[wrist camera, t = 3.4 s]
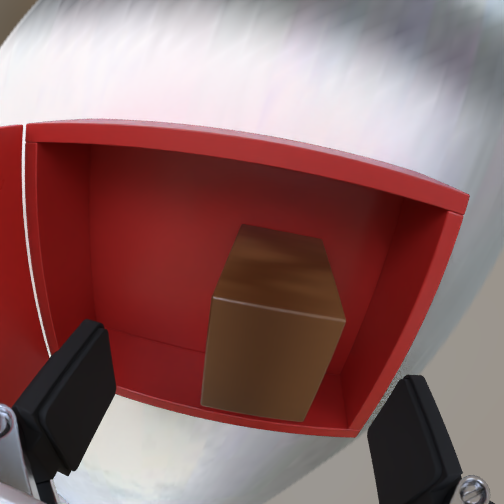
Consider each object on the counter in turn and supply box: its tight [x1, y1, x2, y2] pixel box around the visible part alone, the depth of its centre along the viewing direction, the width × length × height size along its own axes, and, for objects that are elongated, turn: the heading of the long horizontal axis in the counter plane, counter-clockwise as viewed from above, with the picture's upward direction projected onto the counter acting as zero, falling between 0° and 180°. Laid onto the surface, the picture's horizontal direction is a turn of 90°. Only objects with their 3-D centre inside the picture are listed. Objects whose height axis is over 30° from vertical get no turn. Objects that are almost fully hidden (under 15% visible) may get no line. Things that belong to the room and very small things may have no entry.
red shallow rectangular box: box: [25, 119, 470, 438], centre depth 15 cm, size 18×14×5 cm
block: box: [200, 224, 346, 422], centre depth 13 cm, size 4×5×7 cm
